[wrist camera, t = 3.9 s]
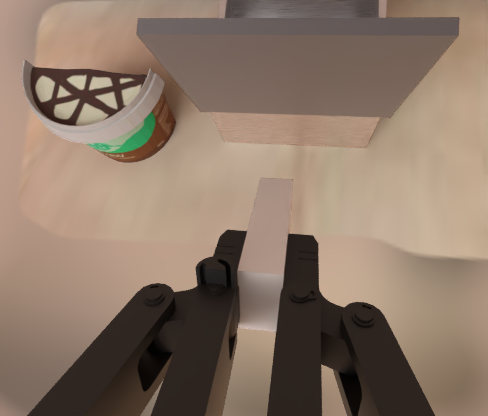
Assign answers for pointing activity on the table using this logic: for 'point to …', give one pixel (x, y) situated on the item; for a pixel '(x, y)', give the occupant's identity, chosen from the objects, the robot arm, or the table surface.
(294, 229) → the table surface
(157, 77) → the food container
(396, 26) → the pot lid
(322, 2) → the rectangular cooking pot
